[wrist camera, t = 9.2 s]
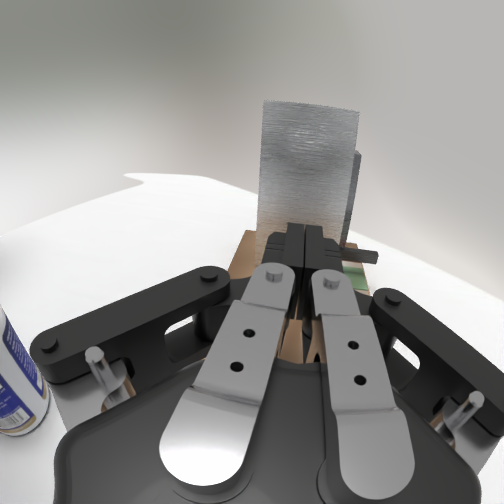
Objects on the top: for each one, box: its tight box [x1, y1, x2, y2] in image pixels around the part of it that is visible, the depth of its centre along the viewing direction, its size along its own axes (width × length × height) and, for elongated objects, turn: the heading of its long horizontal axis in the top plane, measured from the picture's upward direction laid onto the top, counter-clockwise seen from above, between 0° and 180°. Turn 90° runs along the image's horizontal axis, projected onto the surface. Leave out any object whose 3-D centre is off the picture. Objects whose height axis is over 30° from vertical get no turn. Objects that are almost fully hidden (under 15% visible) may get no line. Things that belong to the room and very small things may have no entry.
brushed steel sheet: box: [254, 100, 379, 266], centre depth 20 cm, size 9×2×12 cm, turn 80°
